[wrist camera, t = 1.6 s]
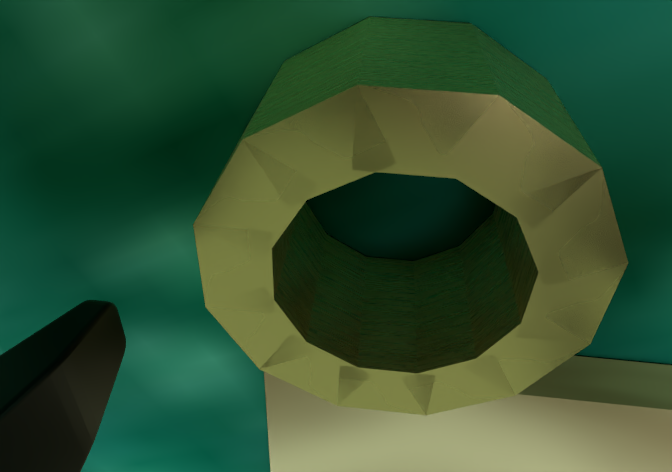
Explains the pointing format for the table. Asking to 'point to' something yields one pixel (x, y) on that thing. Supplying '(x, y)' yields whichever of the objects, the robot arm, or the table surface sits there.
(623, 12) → the table surface
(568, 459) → the stand
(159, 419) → the table surface
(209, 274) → the ring
